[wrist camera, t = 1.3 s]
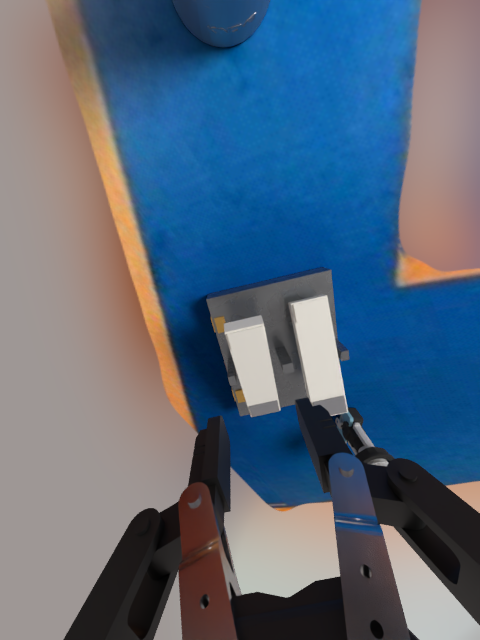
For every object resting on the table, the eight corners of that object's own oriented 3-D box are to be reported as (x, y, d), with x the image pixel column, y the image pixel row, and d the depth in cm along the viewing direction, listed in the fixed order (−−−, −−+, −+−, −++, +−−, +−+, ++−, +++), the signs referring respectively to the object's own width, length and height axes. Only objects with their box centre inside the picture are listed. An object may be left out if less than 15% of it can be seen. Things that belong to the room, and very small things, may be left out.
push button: (353, 437, 40) (392, 500, 30) (323, 436, 39) (353, 499, 30) (364, 405, 38) (409, 462, 28) (332, 404, 37) (366, 462, 28)
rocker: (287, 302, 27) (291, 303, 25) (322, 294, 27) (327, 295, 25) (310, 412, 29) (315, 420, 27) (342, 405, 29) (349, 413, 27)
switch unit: (206, 294, 30) (200, 310, 24) (322, 266, 30) (348, 275, 23) (238, 404, 36) (240, 440, 30) (334, 383, 36) (357, 415, 29)
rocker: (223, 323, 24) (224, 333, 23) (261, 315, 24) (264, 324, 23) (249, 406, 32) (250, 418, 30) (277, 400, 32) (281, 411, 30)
